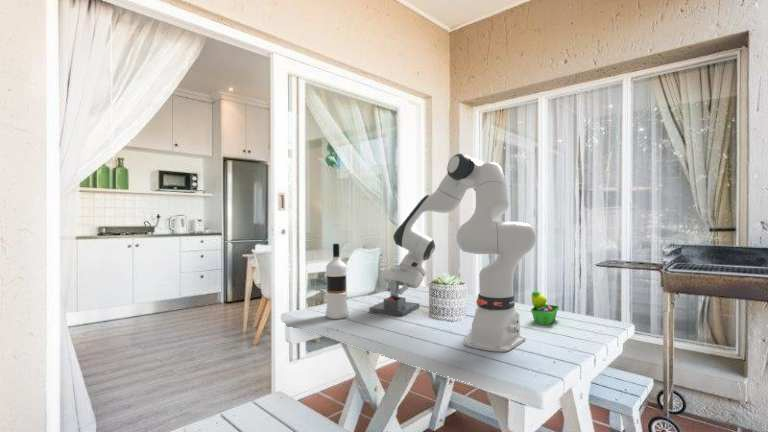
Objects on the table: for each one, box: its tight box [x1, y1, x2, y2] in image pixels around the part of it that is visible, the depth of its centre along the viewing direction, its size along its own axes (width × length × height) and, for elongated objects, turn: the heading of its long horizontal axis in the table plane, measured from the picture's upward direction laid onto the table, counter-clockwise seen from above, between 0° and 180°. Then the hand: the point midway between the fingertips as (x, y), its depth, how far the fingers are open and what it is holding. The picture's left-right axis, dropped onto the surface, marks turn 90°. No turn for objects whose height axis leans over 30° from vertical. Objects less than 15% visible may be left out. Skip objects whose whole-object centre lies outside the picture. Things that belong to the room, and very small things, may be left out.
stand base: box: [368, 296, 420, 317], centre depth 176 cm, size 16×16×6 cm
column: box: [389, 280, 400, 300], centre depth 176 cm, size 4×4×10 cm
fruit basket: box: [530, 290, 560, 326], centre depth 156 cm, size 11×9×11 cm
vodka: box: [325, 243, 350, 320], centre depth 166 cm, size 9×9×30 cm
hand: (393, 292), depth 175 cm, fingers open, 6 cm apart
